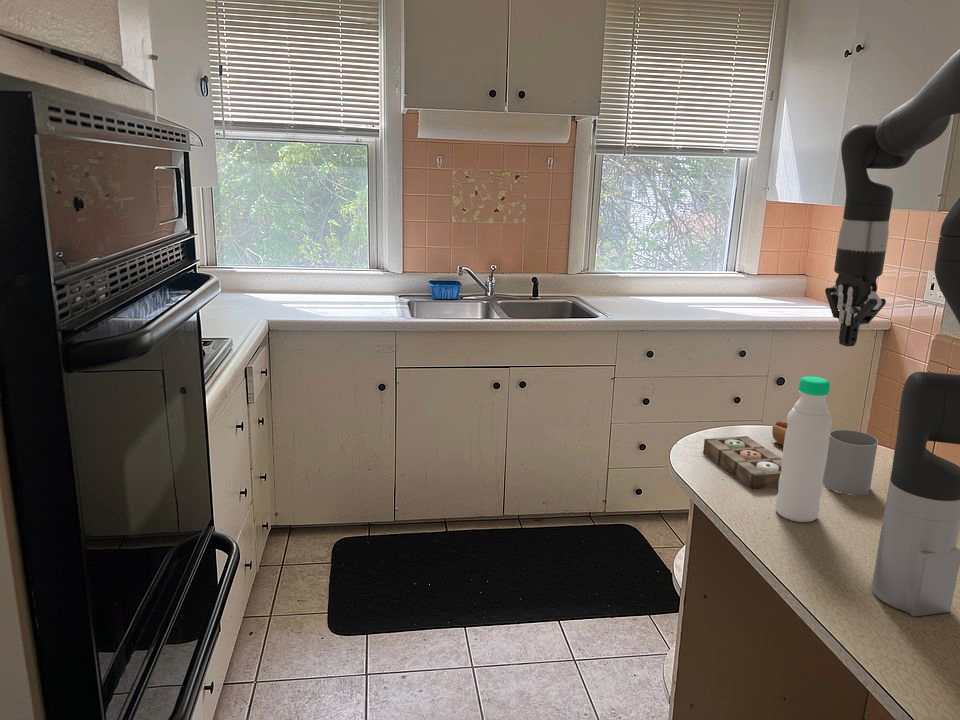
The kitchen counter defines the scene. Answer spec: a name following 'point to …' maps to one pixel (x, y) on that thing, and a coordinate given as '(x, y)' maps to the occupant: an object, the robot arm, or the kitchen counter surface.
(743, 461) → the wooden compartment tray
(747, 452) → the button three
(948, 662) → the kitchen counter surface
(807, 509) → the water bottle
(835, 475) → the cup
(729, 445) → the button two
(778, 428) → the food
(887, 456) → the kitchen counter surface
